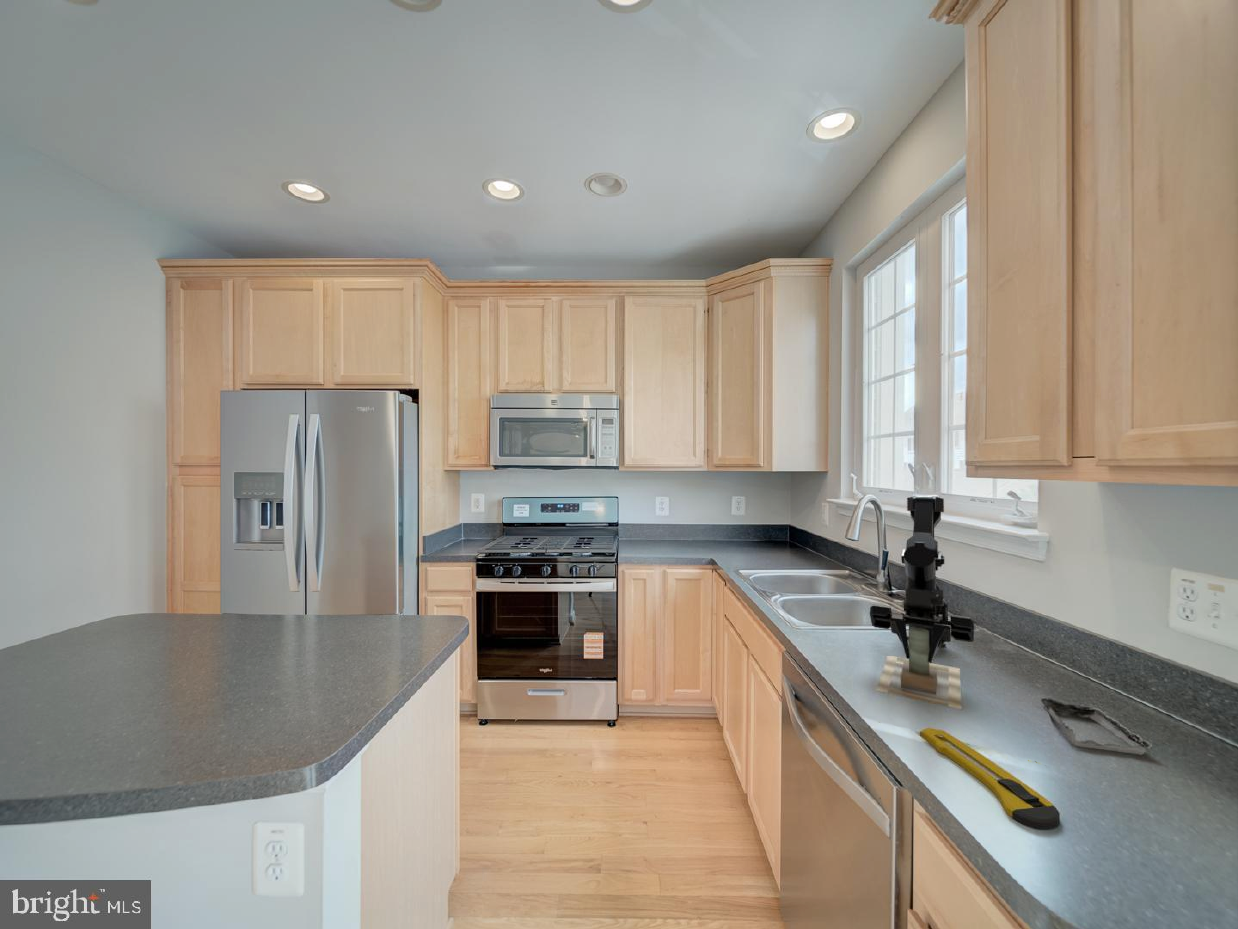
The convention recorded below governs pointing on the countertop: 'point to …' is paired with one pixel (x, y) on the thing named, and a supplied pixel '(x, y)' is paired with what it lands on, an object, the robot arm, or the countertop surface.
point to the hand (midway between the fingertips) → (918, 659)
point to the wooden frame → (945, 693)
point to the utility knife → (998, 782)
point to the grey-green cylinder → (919, 664)
